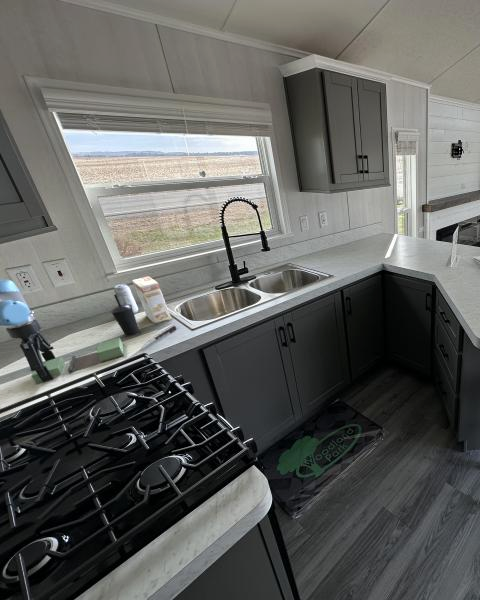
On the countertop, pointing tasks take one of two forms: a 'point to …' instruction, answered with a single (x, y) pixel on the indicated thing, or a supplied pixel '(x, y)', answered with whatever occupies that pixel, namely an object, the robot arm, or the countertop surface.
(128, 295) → the energy drink can
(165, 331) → the kitchen knife
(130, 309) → the drinking cup
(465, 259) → the countertop surface
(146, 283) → the coffeecake box
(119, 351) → the pad
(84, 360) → the backing board
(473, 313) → the countertop surface
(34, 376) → the pad
